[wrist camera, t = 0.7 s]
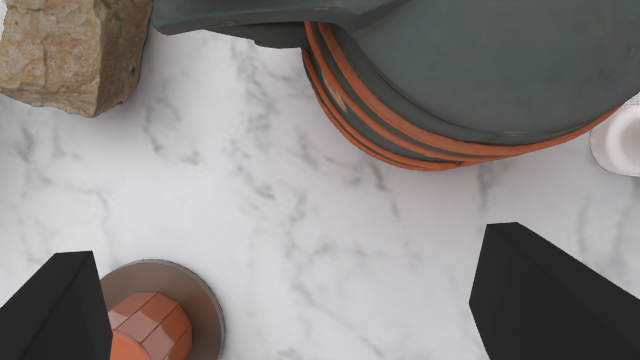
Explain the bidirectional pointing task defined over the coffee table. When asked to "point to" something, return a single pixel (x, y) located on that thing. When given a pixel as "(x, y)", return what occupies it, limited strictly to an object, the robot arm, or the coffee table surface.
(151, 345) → the orange cylinder
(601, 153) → the decorative finial
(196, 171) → the coffee table surface
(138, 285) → the brown peg stand
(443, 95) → the tankard
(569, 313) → the robot arm
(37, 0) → the stone
